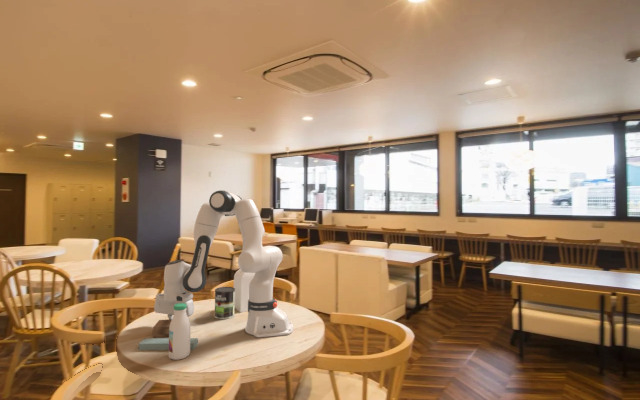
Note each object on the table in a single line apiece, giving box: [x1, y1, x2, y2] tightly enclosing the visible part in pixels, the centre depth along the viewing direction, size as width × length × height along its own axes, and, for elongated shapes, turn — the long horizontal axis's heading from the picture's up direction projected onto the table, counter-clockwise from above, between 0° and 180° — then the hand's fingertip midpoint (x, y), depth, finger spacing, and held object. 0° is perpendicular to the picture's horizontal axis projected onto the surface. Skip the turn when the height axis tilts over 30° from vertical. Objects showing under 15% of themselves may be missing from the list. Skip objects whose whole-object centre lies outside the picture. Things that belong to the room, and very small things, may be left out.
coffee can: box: [214, 286, 235, 320], centre depth 170 cm, size 10×10×14 cm
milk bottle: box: [168, 303, 191, 361], centre depth 126 cm, size 8×8×20 cm
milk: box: [233, 268, 256, 313], centre depth 183 cm, size 12×12×26 cm
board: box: [138, 337, 199, 351], centre depth 133 cm, size 22×5×3 cm, turn 92°
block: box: [152, 318, 172, 338], centre depth 146 cm, size 9×9×5 cm
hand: (173, 323), depth 154 cm, fingers closed
